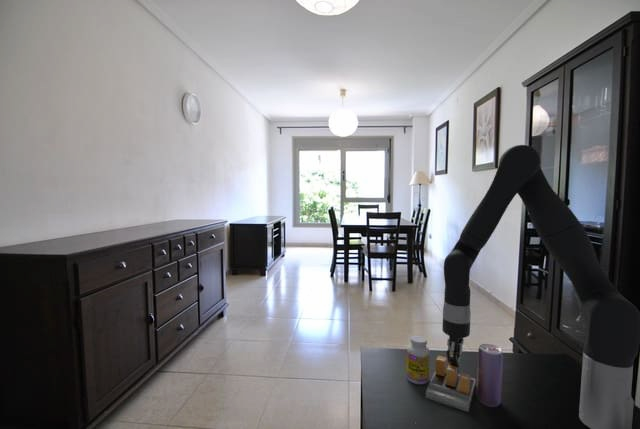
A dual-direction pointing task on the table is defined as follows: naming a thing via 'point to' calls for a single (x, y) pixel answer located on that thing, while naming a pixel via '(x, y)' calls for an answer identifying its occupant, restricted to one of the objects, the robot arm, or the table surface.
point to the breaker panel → (449, 392)
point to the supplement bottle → (418, 360)
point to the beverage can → (489, 375)
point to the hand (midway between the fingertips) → (454, 373)
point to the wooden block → (441, 365)
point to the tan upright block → (464, 383)
